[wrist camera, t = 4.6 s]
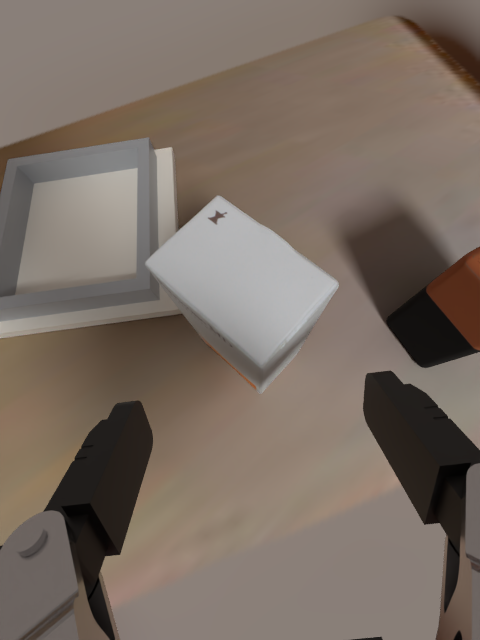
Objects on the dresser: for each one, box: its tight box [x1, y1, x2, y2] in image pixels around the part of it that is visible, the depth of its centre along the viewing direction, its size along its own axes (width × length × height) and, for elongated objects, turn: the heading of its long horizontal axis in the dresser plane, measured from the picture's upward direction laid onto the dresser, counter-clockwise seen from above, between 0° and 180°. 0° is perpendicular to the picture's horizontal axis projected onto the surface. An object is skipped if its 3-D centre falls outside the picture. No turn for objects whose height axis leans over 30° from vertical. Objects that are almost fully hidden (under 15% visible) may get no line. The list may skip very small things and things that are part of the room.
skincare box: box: [145, 195, 339, 394], centre depth 15 cm, size 6×4×12 cm
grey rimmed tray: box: [0, 138, 182, 338], centre depth 24 cm, size 16×17×3 cm
